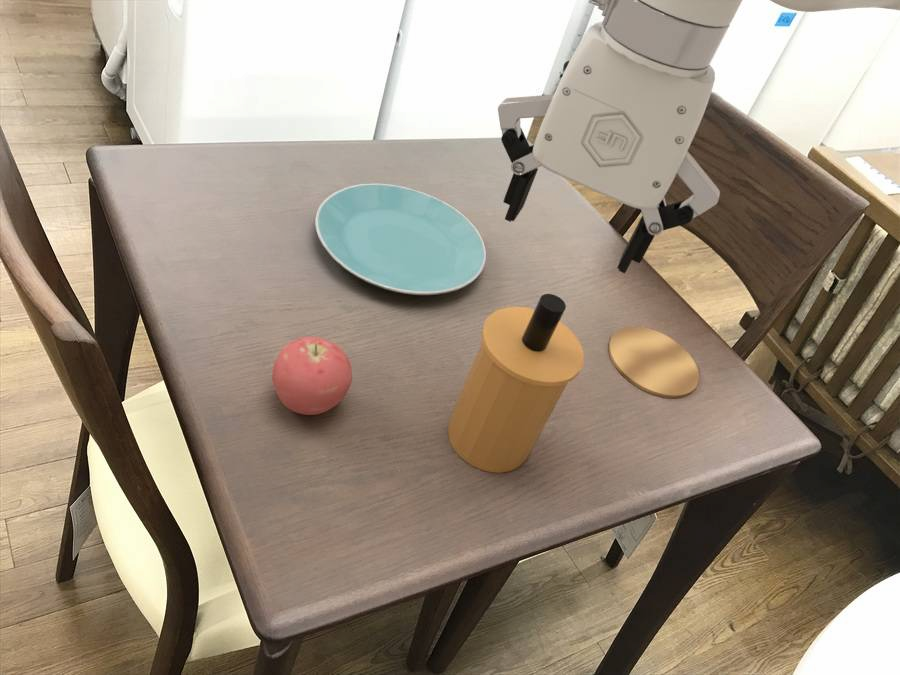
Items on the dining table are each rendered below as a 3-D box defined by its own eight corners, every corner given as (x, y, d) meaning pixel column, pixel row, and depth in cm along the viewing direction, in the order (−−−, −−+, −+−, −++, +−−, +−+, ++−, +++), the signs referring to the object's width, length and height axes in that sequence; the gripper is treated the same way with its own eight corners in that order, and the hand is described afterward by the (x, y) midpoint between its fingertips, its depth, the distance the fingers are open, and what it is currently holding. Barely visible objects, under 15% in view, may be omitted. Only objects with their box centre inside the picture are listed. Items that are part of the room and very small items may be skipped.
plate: (491, 320, 94) (498, 303, 92) (308, 294, 88) (312, 275, 86) (470, 215, 110) (475, 199, 108) (314, 188, 104) (317, 170, 102)
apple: (252, 397, 75) (260, 339, 70) (305, 364, 80) (317, 308, 75) (305, 443, 73) (318, 387, 68) (357, 406, 78) (373, 351, 73)
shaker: (544, 447, 81) (594, 359, 72) (491, 487, 75) (538, 396, 66) (485, 394, 84) (525, 303, 76) (430, 428, 79) (467, 334, 70)
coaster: (713, 374, 98) (715, 371, 98) (667, 412, 90) (669, 410, 90) (639, 317, 103) (641, 314, 102) (590, 350, 95) (591, 347, 95)
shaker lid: (598, 364, 73) (625, 317, 69) (537, 407, 66) (563, 357, 62) (523, 303, 76) (544, 255, 72) (458, 337, 70) (477, 286, 66)
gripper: (526, -8, 48) (454, 214, 59) (786, 100, 46) (661, 309, 58) (556, -31, 54) (485, 176, 65) (788, 64, 52) (675, 261, 63)
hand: (568, 238), depth 61 cm, fingers open, 9 cm apart
